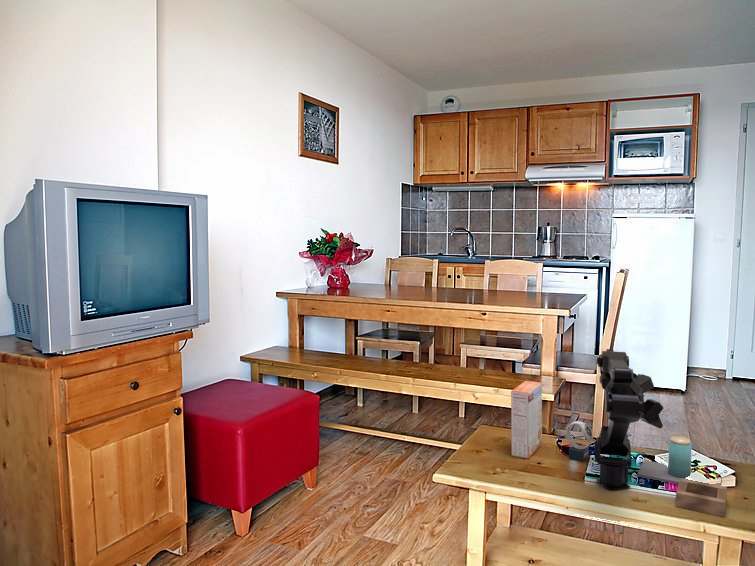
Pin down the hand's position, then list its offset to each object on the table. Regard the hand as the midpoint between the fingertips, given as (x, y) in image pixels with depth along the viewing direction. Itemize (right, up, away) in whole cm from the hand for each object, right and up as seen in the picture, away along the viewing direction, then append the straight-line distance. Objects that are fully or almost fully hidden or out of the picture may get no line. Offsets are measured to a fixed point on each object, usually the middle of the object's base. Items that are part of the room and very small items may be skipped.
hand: (650, 422), depth 172 cm
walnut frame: (+3, -15, -22) cm, 27 cm away
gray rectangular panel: (+5, -14, -6) cm, 16 cm away
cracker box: (-32, -13, +15) cm, 38 cm away
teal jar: (+5, -13, -6) cm, 15 cm away
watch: (-18, -13, +9) cm, 24 cm away
